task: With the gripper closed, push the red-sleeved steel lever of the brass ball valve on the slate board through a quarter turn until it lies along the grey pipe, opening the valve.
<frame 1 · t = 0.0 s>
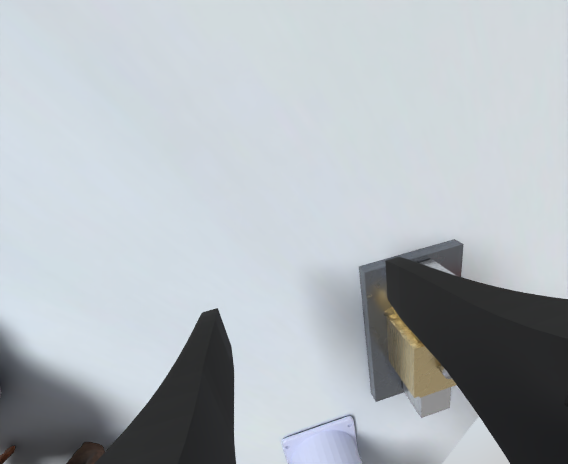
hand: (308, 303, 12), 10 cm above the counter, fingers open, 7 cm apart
valve lever: (506, 356, 23), point 6 cm above the counter, hinge at -90.0°
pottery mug: (72, 453, 26), on the counter
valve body: (408, 323, 28), on the counter
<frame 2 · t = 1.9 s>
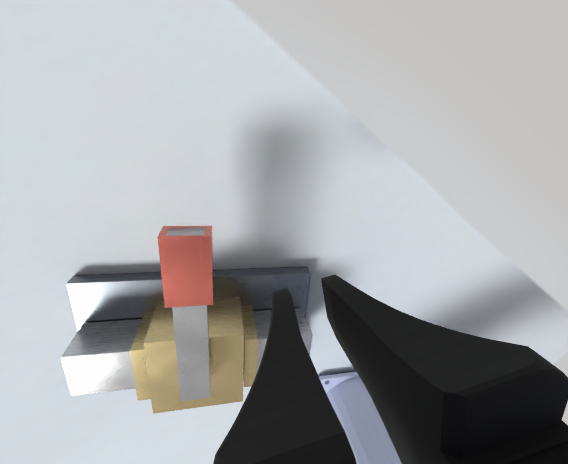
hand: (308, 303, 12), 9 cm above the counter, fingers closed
valve lever: (192, 324, 15), point 6 cm above the counter, hinge at -90.0°
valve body: (202, 321, 22), on the counter
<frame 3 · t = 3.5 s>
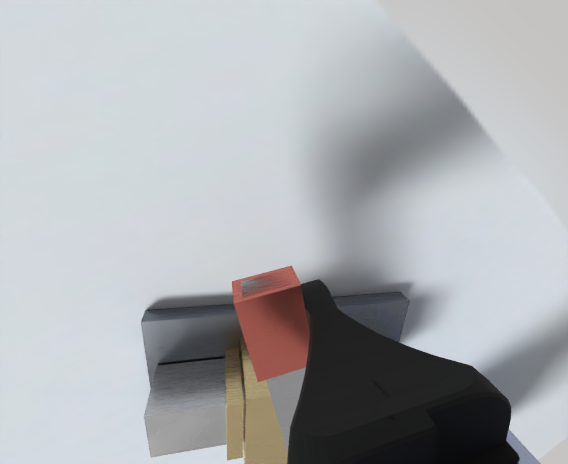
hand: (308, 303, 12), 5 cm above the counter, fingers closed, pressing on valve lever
valve lever: (289, 386, 12), point 6 cm above the counter, hinge at -76.1°, touching gripper
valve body: (281, 356, 19), on the counter
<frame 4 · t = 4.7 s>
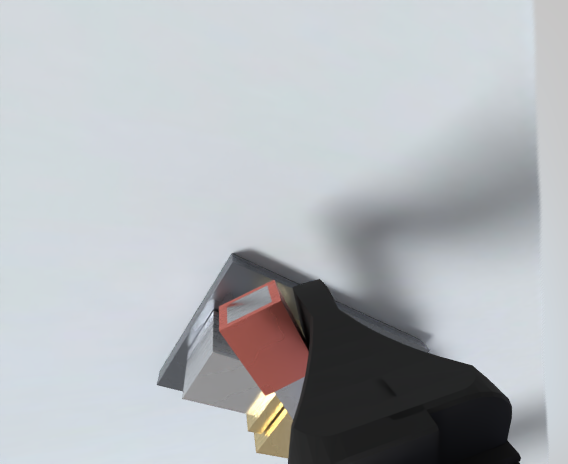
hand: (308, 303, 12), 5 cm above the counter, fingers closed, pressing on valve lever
valve lever: (302, 391, 12), point 6 cm above the counter, hinge at -34.1°, touching gripper
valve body: (303, 354, 20), on the counter
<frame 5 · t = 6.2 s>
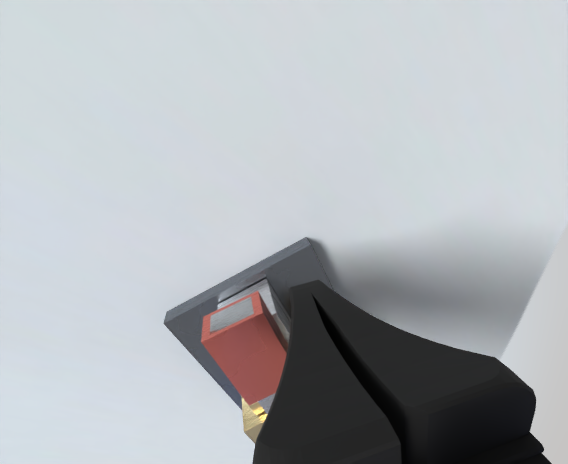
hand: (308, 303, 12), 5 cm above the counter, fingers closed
valve lever: (287, 400, 12), point 6 cm above the counter, hinge at -3.2°
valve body: (294, 360, 20), on the counter
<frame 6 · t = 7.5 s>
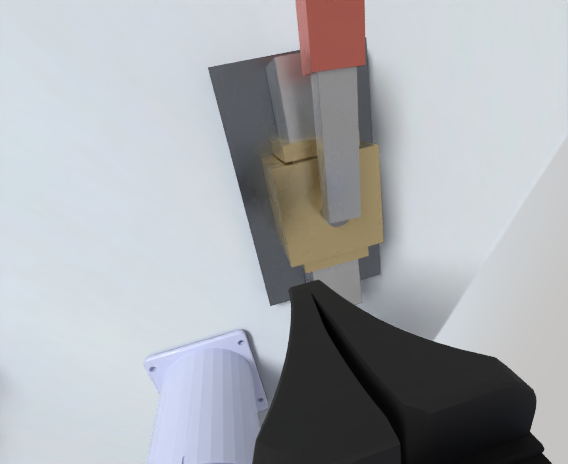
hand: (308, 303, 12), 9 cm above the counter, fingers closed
valve lever: (334, 116, 13), point 6 cm above the counter, hinge at -3.2°
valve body: (307, 187, 20), on the counter
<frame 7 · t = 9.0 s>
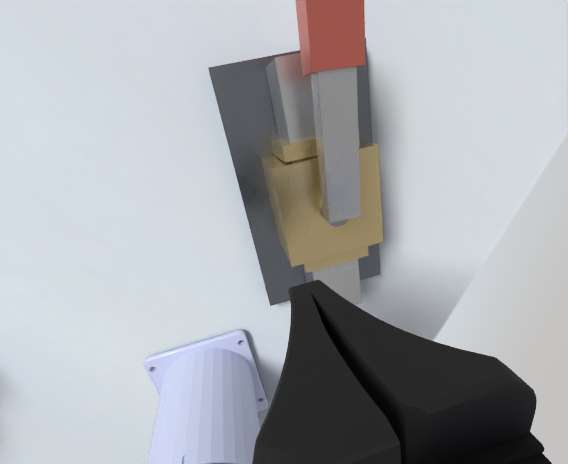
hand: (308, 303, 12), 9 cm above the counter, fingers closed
valve lever: (334, 116, 13), point 6 cm above the counter, hinge at -3.2°
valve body: (307, 187, 20), on the counter
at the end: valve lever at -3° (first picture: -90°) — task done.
